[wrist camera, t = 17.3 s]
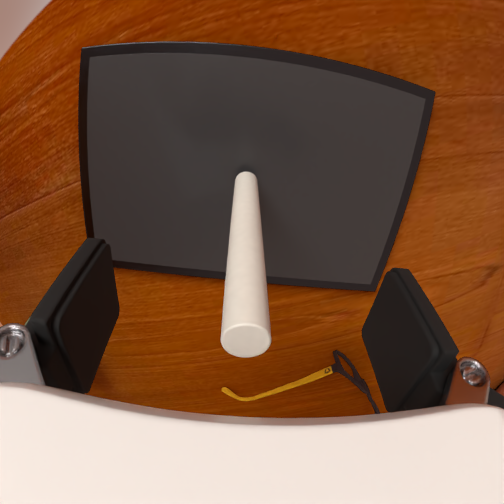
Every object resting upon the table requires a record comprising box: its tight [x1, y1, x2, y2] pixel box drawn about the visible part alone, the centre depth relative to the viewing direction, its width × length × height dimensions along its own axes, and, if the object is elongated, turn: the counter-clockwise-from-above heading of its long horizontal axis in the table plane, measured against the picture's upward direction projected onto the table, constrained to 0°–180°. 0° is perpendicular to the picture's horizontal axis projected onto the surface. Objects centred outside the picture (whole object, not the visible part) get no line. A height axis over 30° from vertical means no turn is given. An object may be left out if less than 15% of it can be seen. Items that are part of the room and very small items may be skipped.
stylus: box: [221, 172, 271, 358], centre depth 15 cm, size 1×1×14 cm
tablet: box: [78, 42, 435, 291], centre depth 21 cm, size 17×24×1 cm
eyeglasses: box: [222, 350, 380, 414], centre depth 33 cm, size 14×14×4 cm
